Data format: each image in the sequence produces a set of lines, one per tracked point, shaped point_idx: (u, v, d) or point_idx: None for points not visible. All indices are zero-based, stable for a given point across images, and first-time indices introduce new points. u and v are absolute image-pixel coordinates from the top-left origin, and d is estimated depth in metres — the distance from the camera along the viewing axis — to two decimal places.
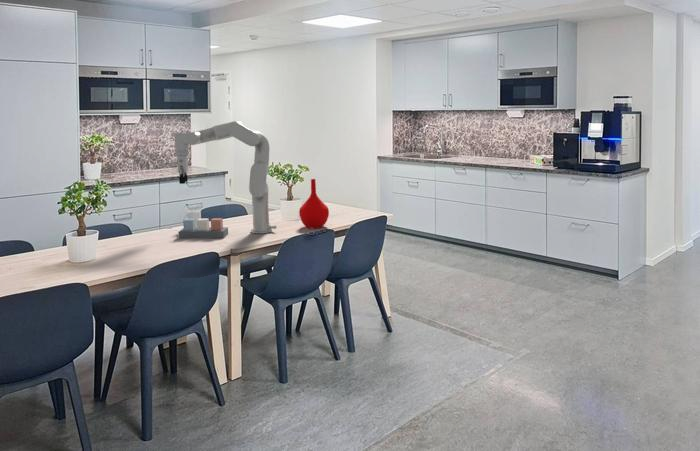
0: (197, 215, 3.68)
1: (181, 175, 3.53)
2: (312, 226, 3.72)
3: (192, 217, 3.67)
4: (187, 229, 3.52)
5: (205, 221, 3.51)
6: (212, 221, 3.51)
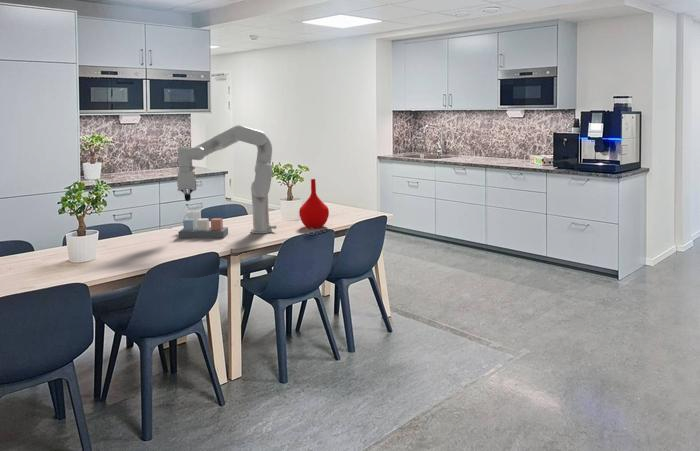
0: (197, 215, 3.68)
1: (191, 192, 3.51)
2: (312, 226, 3.72)
3: (192, 217, 3.67)
4: (187, 229, 3.52)
5: (205, 221, 3.51)
6: (212, 221, 3.51)
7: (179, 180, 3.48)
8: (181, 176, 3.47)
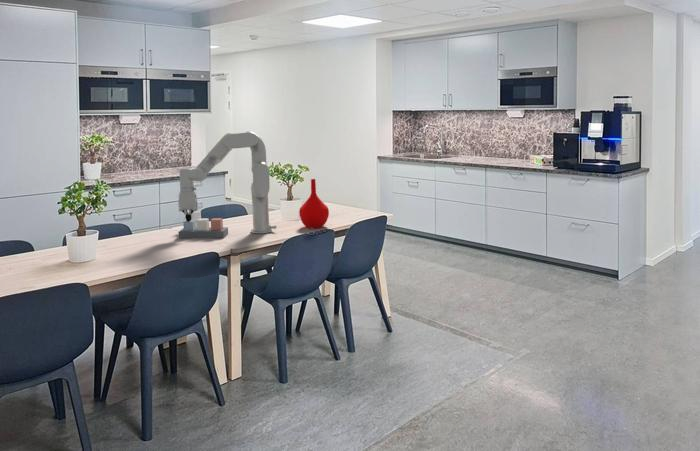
0: (197, 215, 3.68)
1: (192, 212, 3.53)
2: (312, 226, 3.72)
3: (192, 217, 3.67)
4: None
5: (205, 221, 3.51)
6: (212, 221, 3.51)
7: (181, 201, 3.50)
8: (182, 197, 3.49)
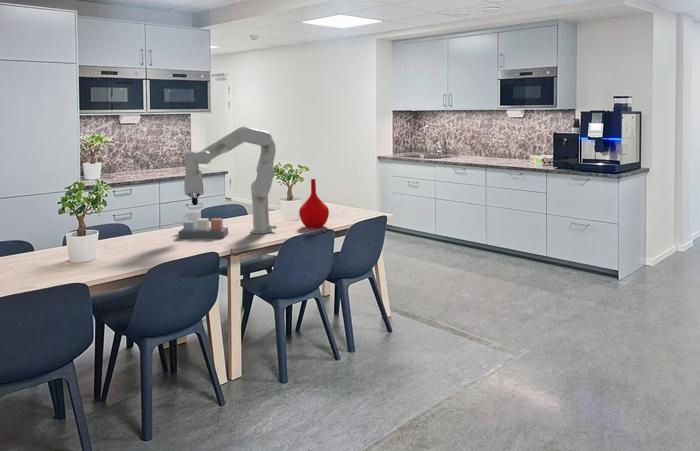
0: (197, 215, 3.68)
1: (198, 196, 3.51)
2: (312, 226, 3.72)
3: (192, 217, 3.67)
4: None
5: (205, 221, 3.51)
6: (212, 221, 3.51)
7: (186, 185, 3.48)
8: (188, 180, 3.47)
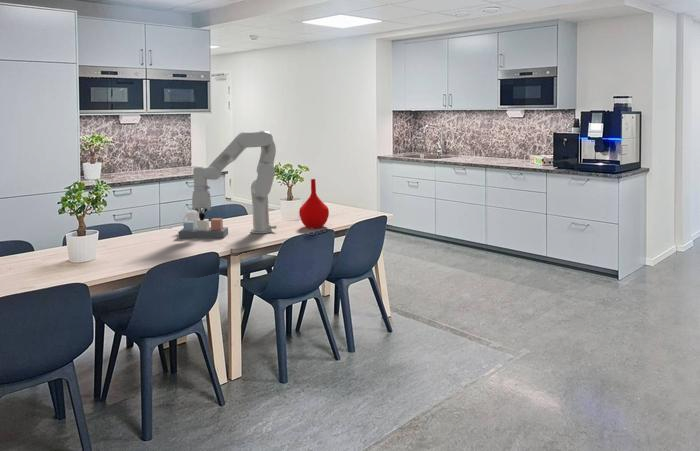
0: (197, 215, 3.68)
1: (205, 211, 3.53)
2: (312, 226, 3.72)
3: (192, 217, 3.67)
4: None
5: (205, 222, 3.51)
6: (212, 221, 3.51)
7: (194, 199, 3.50)
8: (196, 195, 3.49)
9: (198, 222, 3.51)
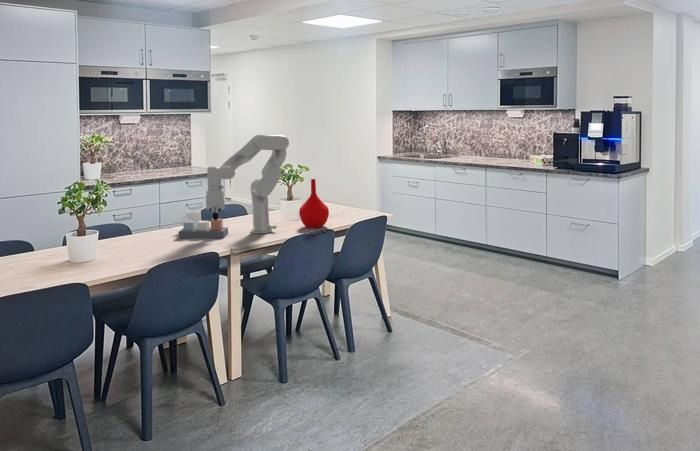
0: (197, 215, 3.68)
1: None
2: (312, 226, 3.72)
3: (192, 217, 3.67)
4: None
5: (205, 223, 3.51)
6: (212, 221, 3.51)
7: (208, 199, 3.49)
8: (210, 195, 3.49)
9: (198, 224, 3.51)
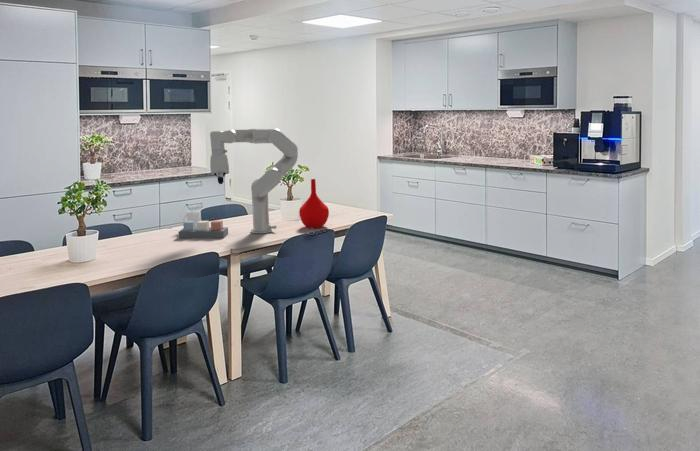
0: (197, 215, 3.68)
1: None
2: (312, 226, 3.72)
3: (192, 217, 3.67)
4: None
5: (205, 223, 3.51)
6: (212, 223, 3.51)
7: (212, 164, 3.53)
8: (214, 159, 3.52)
9: (198, 224, 3.51)
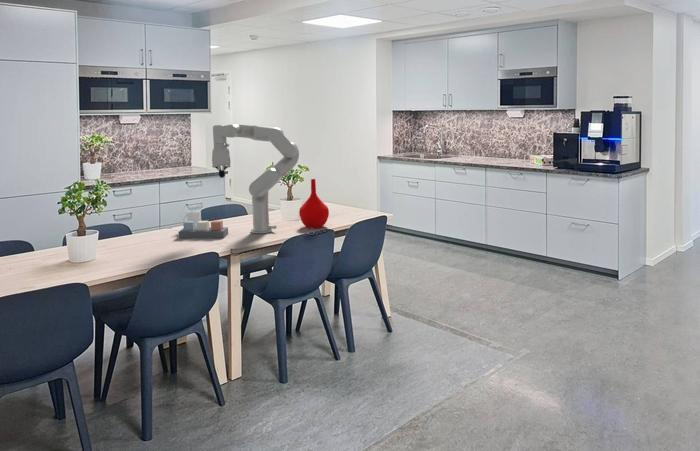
0: (197, 215, 3.68)
1: None
2: (312, 226, 3.72)
3: (192, 217, 3.67)
4: None
5: (205, 223, 3.51)
6: (212, 223, 3.51)
7: (214, 157, 3.56)
8: (216, 153, 3.55)
9: (198, 224, 3.51)
